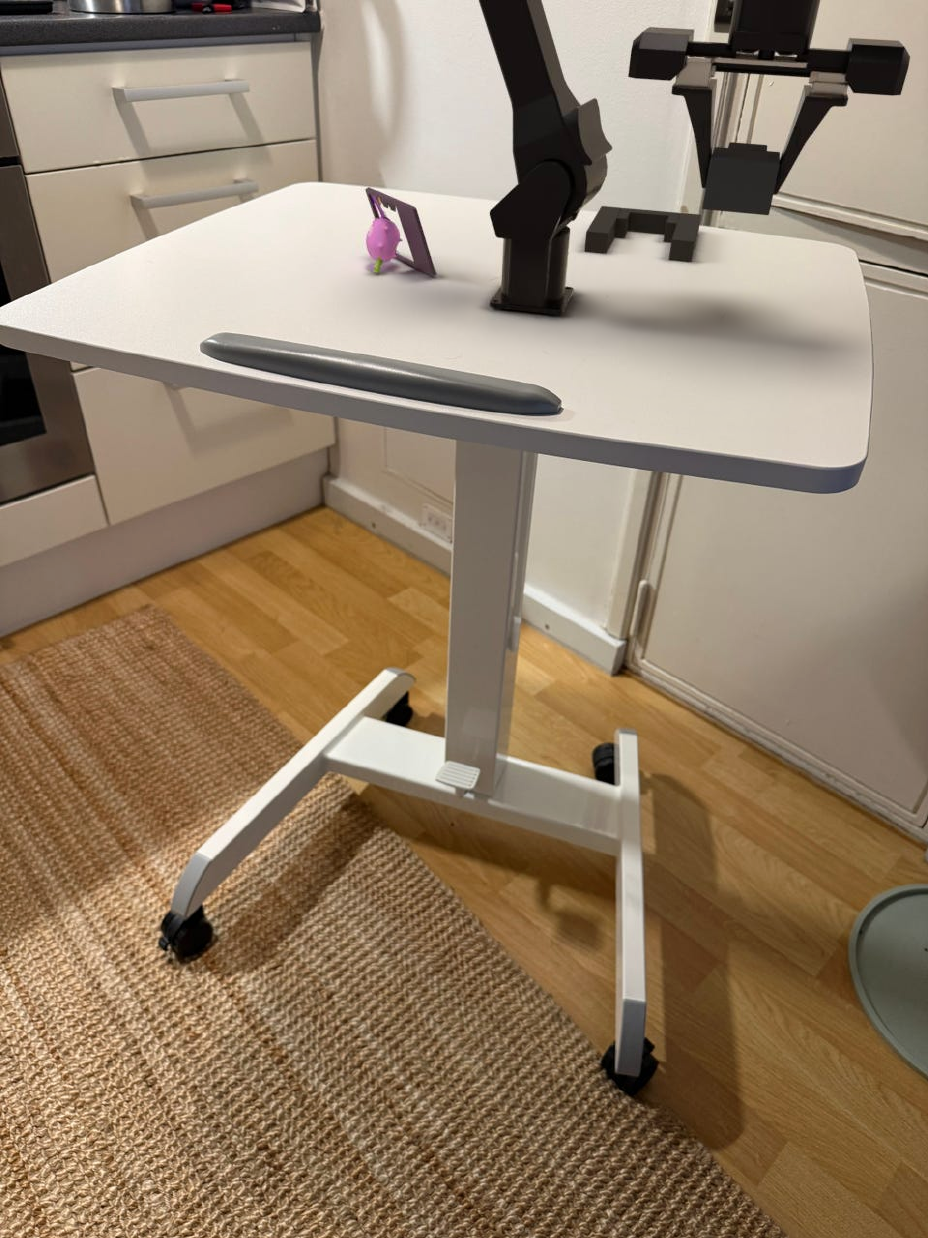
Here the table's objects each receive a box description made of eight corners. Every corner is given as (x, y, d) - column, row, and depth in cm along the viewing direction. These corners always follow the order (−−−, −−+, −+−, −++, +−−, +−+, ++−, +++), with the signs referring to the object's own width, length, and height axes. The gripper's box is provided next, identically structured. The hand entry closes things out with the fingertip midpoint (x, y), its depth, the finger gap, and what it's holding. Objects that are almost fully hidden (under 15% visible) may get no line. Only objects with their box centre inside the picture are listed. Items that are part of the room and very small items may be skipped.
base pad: (691, 261, 91) (694, 241, 90) (584, 251, 93) (586, 230, 92) (697, 233, 100) (701, 214, 98) (599, 224, 102) (601, 205, 101)
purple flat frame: (422, 203, 81) (374, 182, 87) (375, 230, 80) (329, 208, 86) (443, 271, 86) (395, 247, 92) (399, 298, 85) (354, 272, 90)
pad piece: (768, 215, 68) (779, 164, 66) (701, 209, 69) (710, 158, 67) (770, 193, 74) (780, 145, 71) (708, 187, 75) (716, 140, 72)
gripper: (924, -59, 64) (859, 178, 74) (662, -68, 68) (633, 159, 78) (944, -57, 56) (868, 211, 65) (644, -67, 60) (614, 188, 69)
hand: (739, 190), depth 70 cm, fingers closed on pad piece, 5 cm apart
